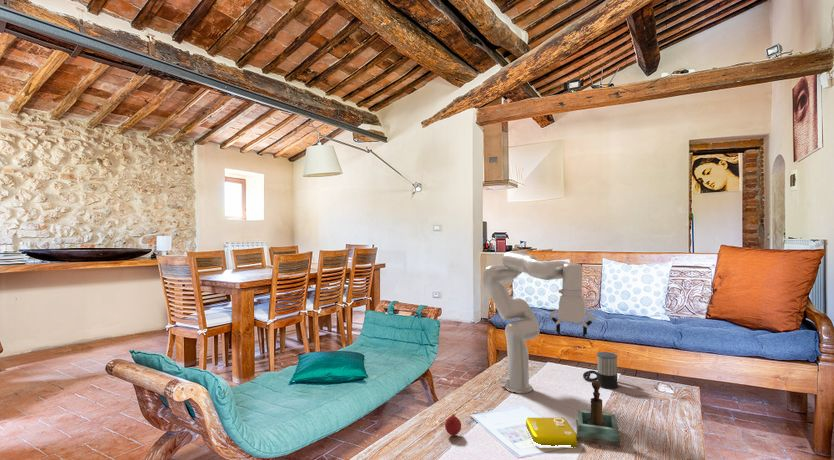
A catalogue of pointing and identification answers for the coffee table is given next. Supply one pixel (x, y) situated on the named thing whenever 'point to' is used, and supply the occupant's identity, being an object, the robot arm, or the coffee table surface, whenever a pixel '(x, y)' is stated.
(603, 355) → the milk frother
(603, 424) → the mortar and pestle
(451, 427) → the onion
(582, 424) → the green square tray
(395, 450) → the coffee table surface
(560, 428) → the element tile
